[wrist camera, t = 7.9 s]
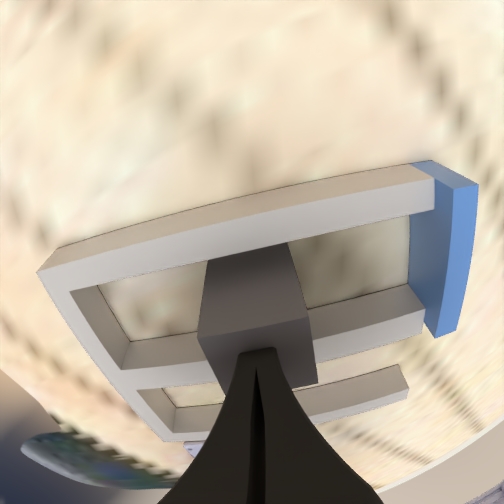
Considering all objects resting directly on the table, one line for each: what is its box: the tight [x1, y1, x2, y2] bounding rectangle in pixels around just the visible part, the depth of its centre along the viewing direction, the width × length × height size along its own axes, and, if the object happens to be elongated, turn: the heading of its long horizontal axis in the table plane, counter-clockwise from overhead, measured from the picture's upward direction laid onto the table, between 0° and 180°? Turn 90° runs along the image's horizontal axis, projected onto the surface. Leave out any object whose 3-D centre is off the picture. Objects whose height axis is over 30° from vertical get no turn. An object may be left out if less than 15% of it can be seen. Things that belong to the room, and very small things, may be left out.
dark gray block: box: [197, 242, 318, 395], centre depth 14 cm, size 4×4×6 cm
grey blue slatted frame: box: [36, 160, 479, 442], centre depth 17 cm, size 17×21×4 cm
